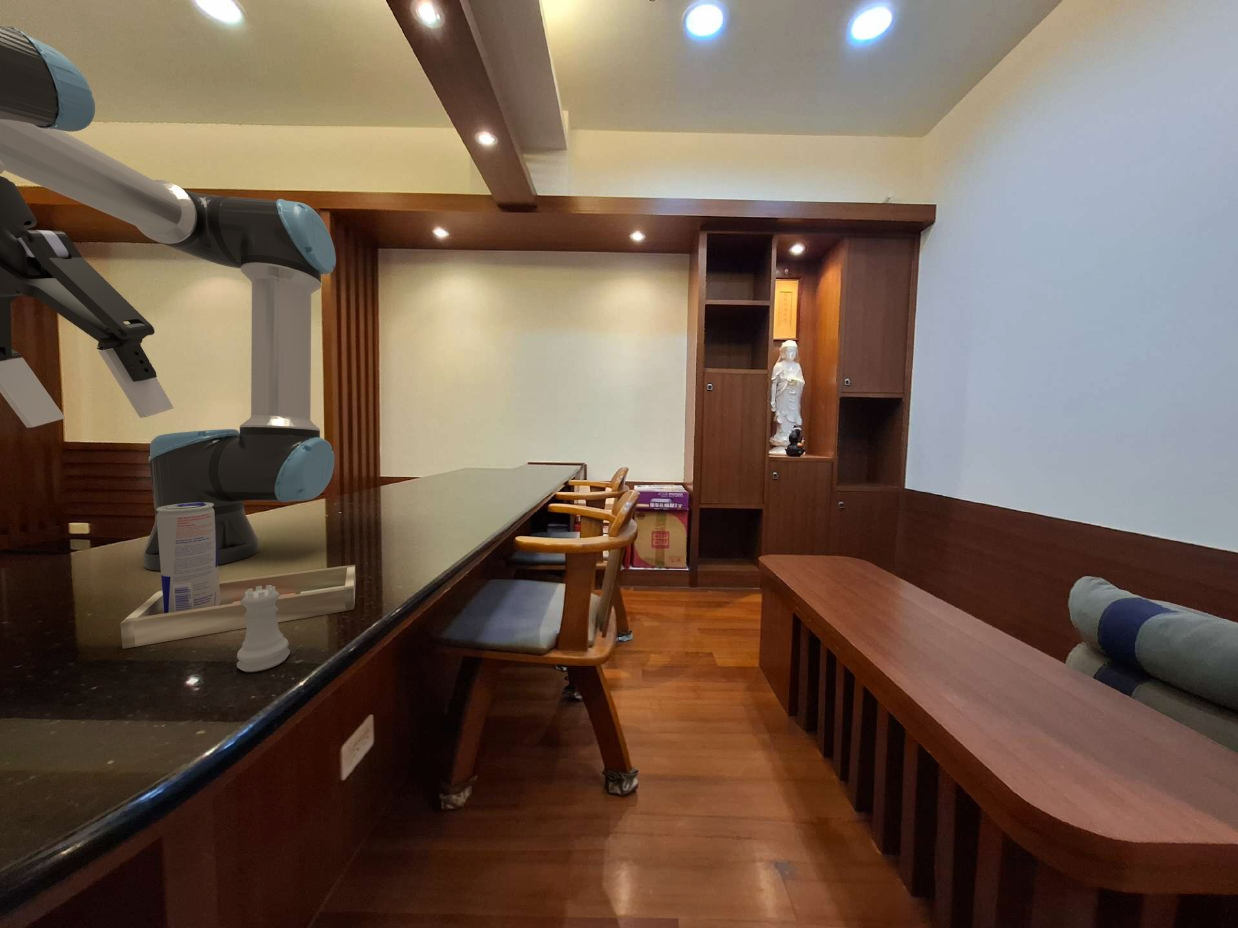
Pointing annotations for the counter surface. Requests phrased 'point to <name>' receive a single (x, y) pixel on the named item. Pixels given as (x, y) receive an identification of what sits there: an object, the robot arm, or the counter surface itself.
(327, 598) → the wooden serving tray
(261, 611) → the rook chess piece
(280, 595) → the pads
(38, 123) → the robot arm
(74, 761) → the counter surface
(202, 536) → the beverage can
